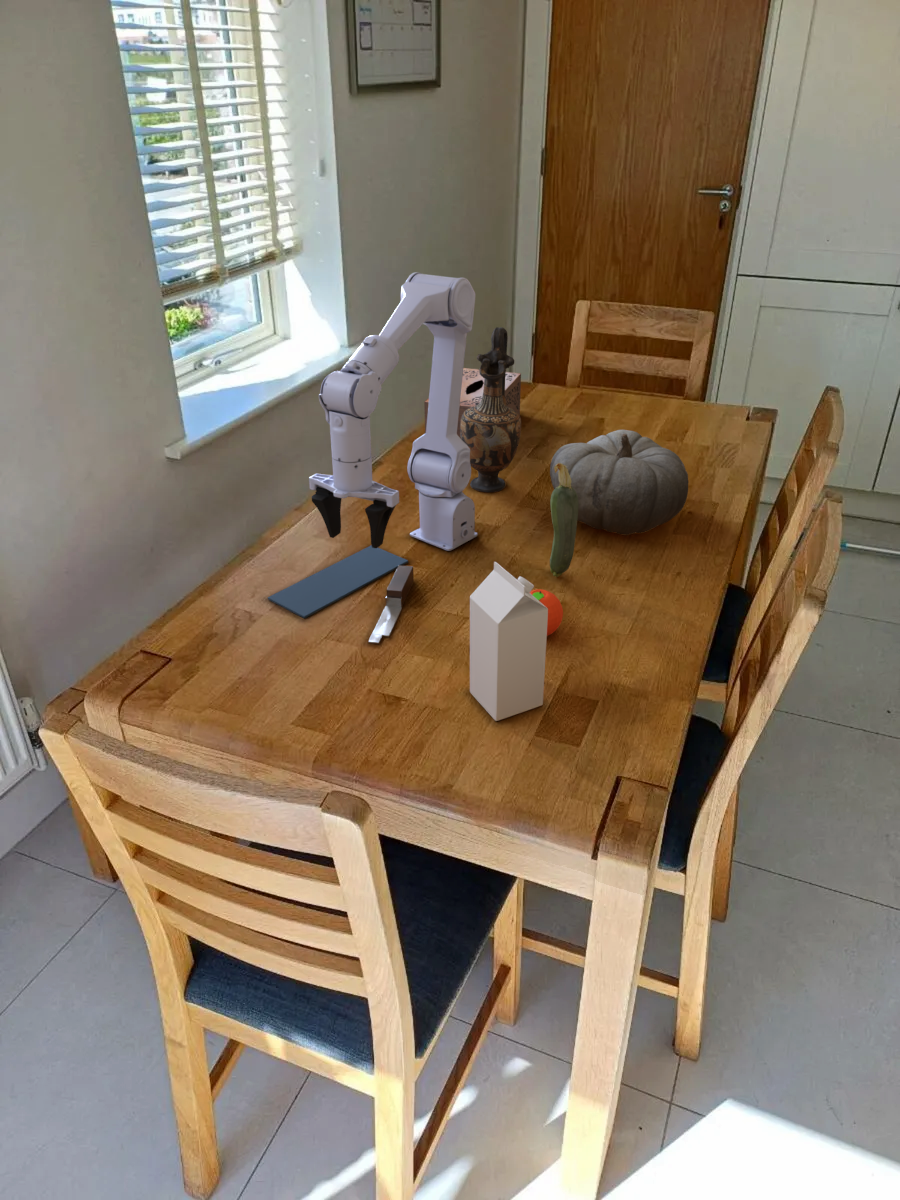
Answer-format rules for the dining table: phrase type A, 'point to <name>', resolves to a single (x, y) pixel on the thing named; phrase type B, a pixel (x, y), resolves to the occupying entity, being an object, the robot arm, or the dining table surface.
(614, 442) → the gourd
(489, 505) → the dining table surface
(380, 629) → the knife
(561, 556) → the vegetable
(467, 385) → the tissue box cover
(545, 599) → the clementine
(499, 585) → the milk carton
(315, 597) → the mat
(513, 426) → the vase
